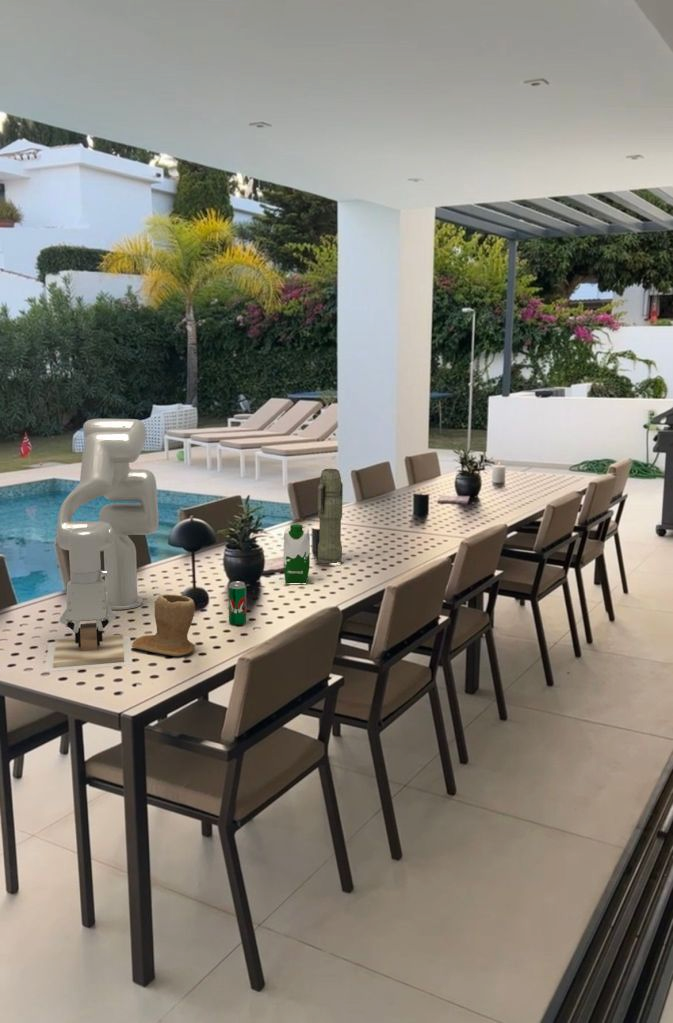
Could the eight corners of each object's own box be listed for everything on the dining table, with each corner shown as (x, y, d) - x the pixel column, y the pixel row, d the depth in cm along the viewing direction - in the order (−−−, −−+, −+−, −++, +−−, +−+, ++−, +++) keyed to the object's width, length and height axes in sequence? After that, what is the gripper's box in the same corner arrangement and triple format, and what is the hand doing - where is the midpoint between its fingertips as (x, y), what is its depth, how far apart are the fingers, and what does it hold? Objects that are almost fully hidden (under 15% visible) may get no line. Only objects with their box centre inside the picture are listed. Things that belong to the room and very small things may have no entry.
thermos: (310, 564, 313) (310, 470, 307) (329, 558, 323) (329, 466, 316) (330, 568, 308) (331, 472, 302) (348, 562, 318) (349, 468, 311)
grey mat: (49, 644, 229) (49, 642, 229) (130, 638, 234) (129, 636, 234) (44, 674, 209) (43, 671, 209) (132, 666, 214) (132, 664, 214)
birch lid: (56, 643, 227) (55, 617, 226) (122, 638, 232) (121, 613, 230) (53, 667, 211) (51, 639, 210) (124, 661, 216) (123, 634, 214)
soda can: (246, 620, 250) (246, 580, 248) (245, 626, 246) (245, 585, 243) (229, 620, 250) (229, 580, 248) (228, 626, 245) (227, 585, 243)
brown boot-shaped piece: (205, 648, 228) (204, 593, 225) (179, 662, 217) (177, 606, 214) (158, 639, 234) (156, 586, 231) (130, 653, 223) (128, 598, 220)
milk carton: (282, 585, 287) (282, 526, 283) (284, 577, 296) (284, 521, 292) (308, 585, 287) (309, 527, 283) (310, 578, 296) (310, 521, 292)
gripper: (119, 570, 223) (122, 637, 227) (52, 574, 219) (56, 642, 222) (120, 578, 216) (122, 647, 220) (50, 582, 212) (54, 652, 215)
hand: (89, 644), depth 221 cm, fingers closed on birch lid, 4 cm apart
